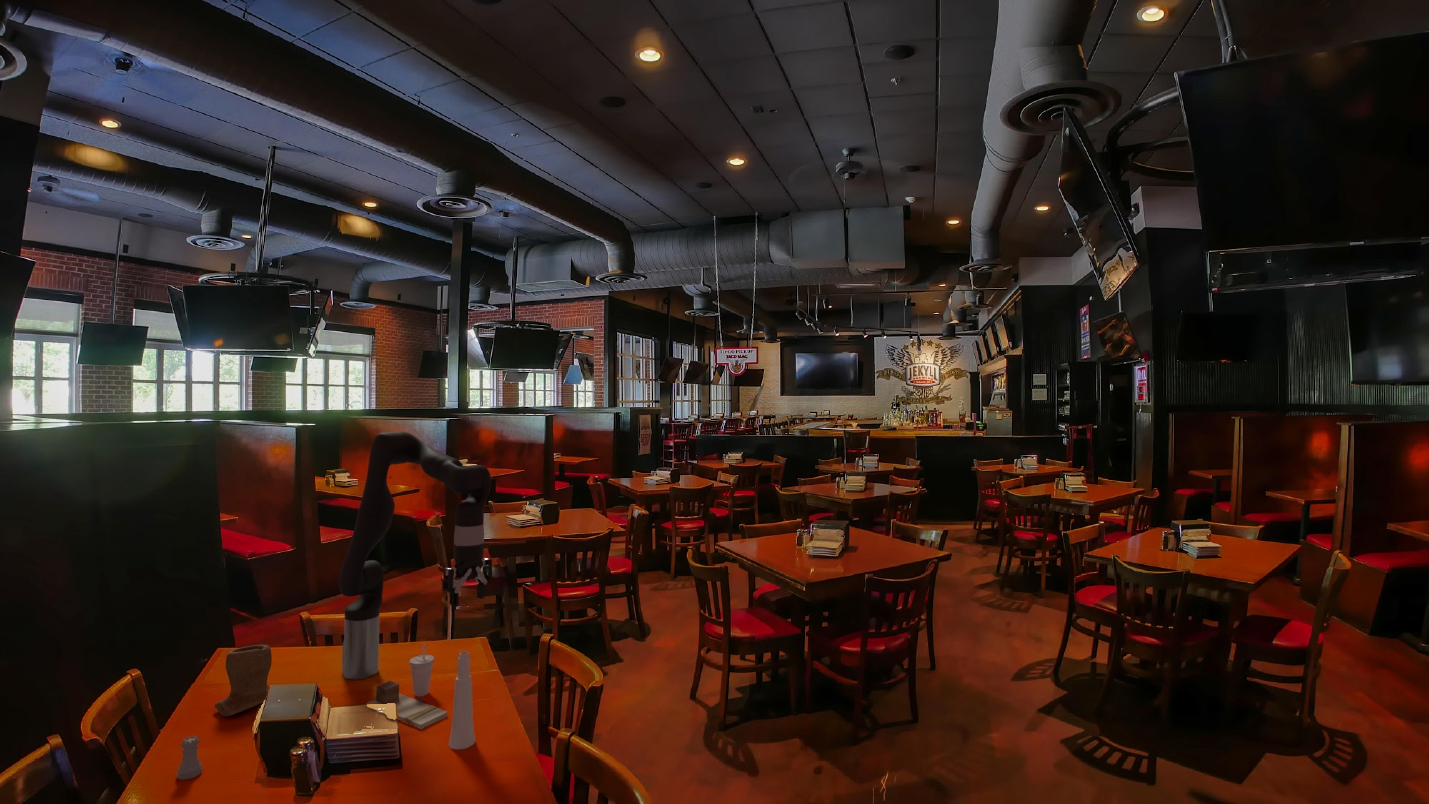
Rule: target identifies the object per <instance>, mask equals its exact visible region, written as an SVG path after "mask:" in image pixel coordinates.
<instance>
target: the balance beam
mask: <svg viewBox="0 0 1429 804" xmlns="http://www.w3.org/2000/svg"><path fill="white" fill-rule="evenodd" d="M375 688H376V689H375V699H373V700H371V701H368V702H366V705H367V704H387V703H395V704H396V706H397V714H398V719H400V720H401V721H405V722H406V723H408V724H411V725H413V726H416V727H417V728H416V727H415V728H416V729H418V728H419V730H422V729H425V728H426V726H427V727H429V726H431V725H433V724H435V723H437V722H439V721H441V720H443V719H446V718H447V717H448V711H446V710H443V709H441V708H438V707H437V706H434V705H431V704H428V703H427V701H426V700H424V699H423V700H422V699H420V698H418V699H414V698H412V697H409V696H407V695H403V694H401V693H400V683H397V682H394V681H392V680H388V681H386V682H383V683H380V684H378V685H376V686H375ZM401 721H400V722H401ZM406 723H405V724H406ZM408 724H407V725H408ZM430 724H431V725H430ZM411 725H410V726H411ZM428 725H429V726H428ZM413 726H412V727H413ZM424 727H425V728H424Z"/></svg>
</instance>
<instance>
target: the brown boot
mask: <svg viewBox="0 0 1429 804" xmlns="http://www.w3.org/2000/svg"><path fill="white" fill-rule="evenodd" d="M272 660H273V657H272V648H271V647H270V646H269V645H268V644H254V645H248V646H243V647H242V646H241V647H239V648H234V649H233V650H230V651H229V652H228V653H227V654H226V658H225V671H226V673H227V677H228V680H229V681H228V682H229V686H230V693H229V695H228V696H227V697H225V698H224V699H222V700H219V701H218V702H216V703H215V704H214V709H215V710H217V712H218V713H219V714H220V715H221V716H224V717H231V716H234V715H237V714H239V713H241V712H243V711H246V710H248V709H251V708H254V707H256V706H258V705H261V704H262V703H264V702H263V701H264V700H265V699H266V696H267V694H268V689H269V687H270V686H269V685H268V676H269V673H270V670H271V667H272Z"/></svg>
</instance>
